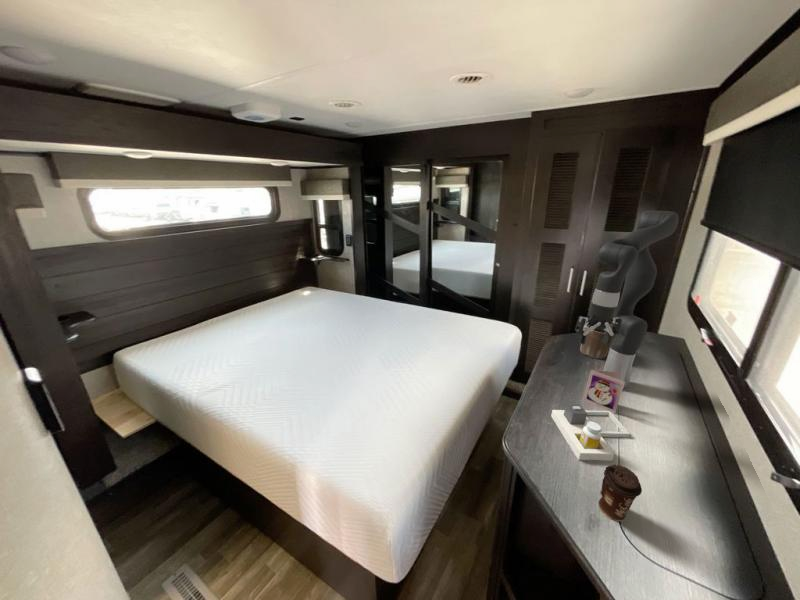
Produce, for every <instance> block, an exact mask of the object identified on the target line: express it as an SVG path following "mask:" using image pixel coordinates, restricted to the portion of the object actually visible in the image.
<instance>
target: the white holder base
mask: <svg viewBox="0 0 800 600" xmlns="http://www.w3.org/2000/svg"><path fill="white" fill-rule="evenodd" d="M585 410H586V409H584V408H583V406H582V405H581V404H580V403H566V404H565V407H564V409H552V411H551V419H552V420H553V421H554V423H555V424H556V426H557V428H558V429H559V431H560V432H561V435H562V436H563V438H564V439H565V441H566V442H567V444H568V445H570V446H569V448H570V449H571V451H572V452H573V454H574V455H575V457H576V458H577V460H578V461H611V462H612V461H613V459H614V457H615V455H616V454H615V452H614V451H613V450H612V448H611V447H610V446H609V444H608V443H607V442H606V440H605V439H604V438H603V436H601V439H600V442H599V445H598V448H597V449H584V447H583V446H582V445H581V443H580V442H579V440H580V437H581V433H582V430H583V428H584V427H585V426H586V425H587V423H588V422H590V421H591V420H590V419H589V418H588V415H587V413H586V411H585ZM588 419H589V420H590V421H589V420H588Z"/></svg>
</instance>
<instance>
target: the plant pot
mask: <svg viewBox="0 0 800 600" xmlns="http://www.w3.org/2000/svg"><path fill="white" fill-rule="evenodd" d="M587 322H588V321H587ZM587 322H586V323H587ZM609 326H610V327H611V329H612V323H611V324H610V325H609ZM589 328H590V326H589ZM586 330H587V329H586ZM605 333H606V331H605V330H600V329H598V330H595V329H594V330H593V331H592V332H589V333H588V334H587V335H586V336H587V337H586V341H585V344H581V343H580V347H579V351H580V353H581V354H582V355H585V356H588V357H589V358H591V359H595V360H597V359H599V360H603V359H606V358H607V356H608V353H609V349H610V346H611V343H612V341H613V340H615V338H616V336H617V334H614V335H613V336H612V338H611V341H610V343H609V344H608V345H606V344H604V343H603V339H604V335H605Z"/></svg>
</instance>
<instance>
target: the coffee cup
mask: <svg viewBox="0 0 800 600" xmlns="http://www.w3.org/2000/svg"><path fill="white" fill-rule="evenodd" d="M603 476H604V477H603V479H602V482H601V489H600V491H599V493H600V495H601V498H600V499H599V500H598V508H599V509H600V512H601V513H602V514H603V515H604V516H605V517H606V518H608V519H609V520H613V521H616V522H623V521H625V519H626V516H627V512H628V511H629V510H630V509H631V507H632V505H633V502H634V501H635V499H636V498H637V497H639V496H640V495H641V494H642V492H643V489H642V484H641V483H640V480H639V478H638V475H636V474H635V472H633V470H631V469H629V468H628V467H626V466H623V465H621V464H610V465H607V466H606V467H605V469H604V472H603Z"/></svg>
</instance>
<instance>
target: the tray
mask: <svg viewBox="0 0 800 600" xmlns="http://www.w3.org/2000/svg"><path fill="white" fill-rule="evenodd" d="M584 410H585V411H586V413H587V416H608V417H609V418H610V420H611V421H612V422H613V423H614V424H615V425H616V426H617V428H618V429H619V430H620V431H600V433H601V437H606V438H608V437H609V438H610V437H612V438H613V437H614V438H615V437H616V438H617V437H618V438H629V437H630V435H631V433H630V432H629V430H628V429H626V427H625V426H624V425H623V424H622V423H621V422H620V420H618V418H617V417H616V416H615V415H614V413H612V412H610V411H607V410H589V409H587V410H586V409H584ZM588 420H589V421H590V422H592V421H591V420H590V419H589V418H588Z"/></svg>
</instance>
